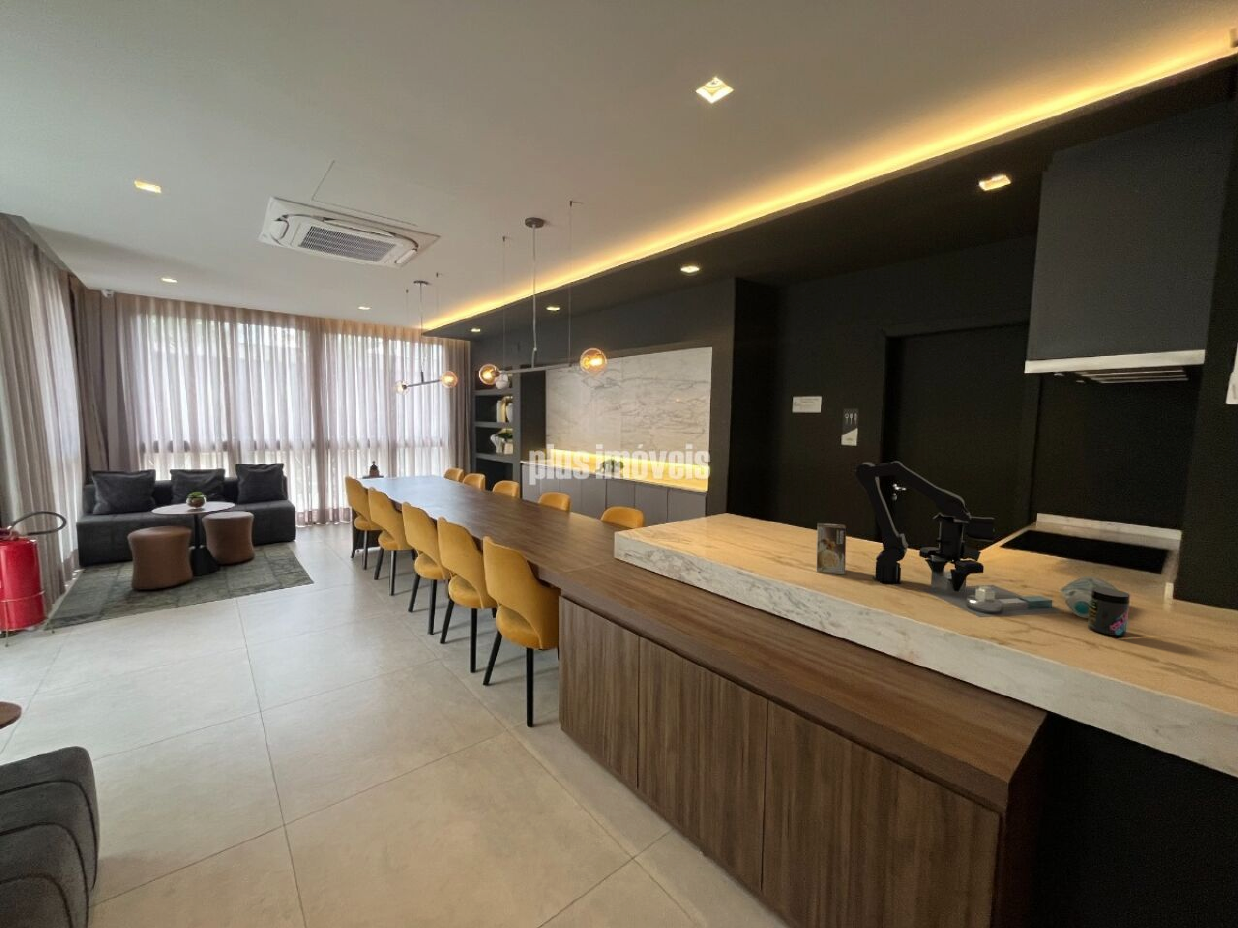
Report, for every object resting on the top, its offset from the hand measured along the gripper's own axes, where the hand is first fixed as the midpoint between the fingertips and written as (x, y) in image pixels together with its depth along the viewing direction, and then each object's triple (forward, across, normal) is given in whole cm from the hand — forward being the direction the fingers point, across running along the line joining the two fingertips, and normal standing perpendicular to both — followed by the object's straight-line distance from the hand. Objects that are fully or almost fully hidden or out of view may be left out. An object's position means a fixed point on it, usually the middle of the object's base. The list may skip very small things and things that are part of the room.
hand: (948, 587), depth 148 cm
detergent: (+2, -18, -27) cm, 32 cm away
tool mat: (+1, -8, -6) cm, 10 cm away
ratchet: (+1, -14, -6) cm, 15 cm away
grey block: (+1, 0, 0) cm, 1 cm away
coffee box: (+2, +24, +24) cm, 34 cm away
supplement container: (+2, -31, -16) cm, 35 cm away
